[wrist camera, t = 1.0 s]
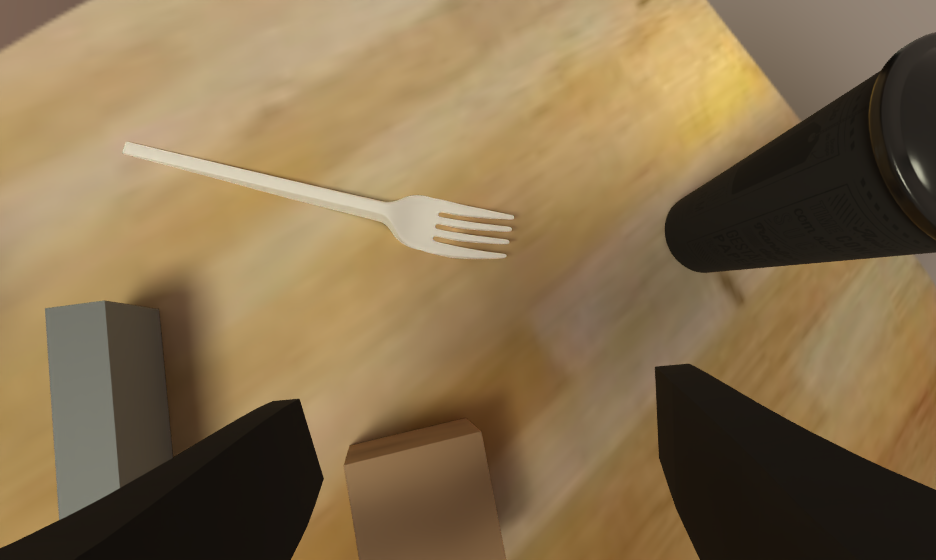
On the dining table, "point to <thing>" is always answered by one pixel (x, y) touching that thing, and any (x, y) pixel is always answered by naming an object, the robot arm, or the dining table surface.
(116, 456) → the backboard
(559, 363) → the dining table surface
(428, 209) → the fork
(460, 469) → the walnut block
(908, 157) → the drinking cup
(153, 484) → the robot arm
